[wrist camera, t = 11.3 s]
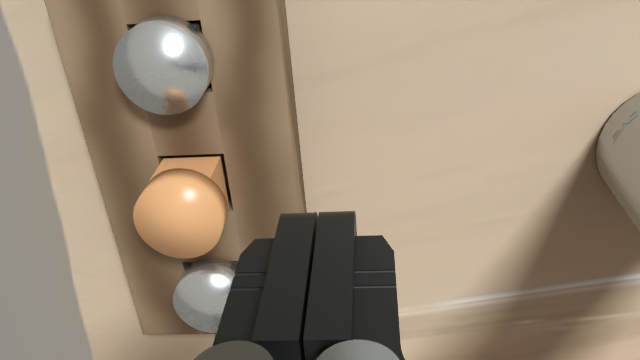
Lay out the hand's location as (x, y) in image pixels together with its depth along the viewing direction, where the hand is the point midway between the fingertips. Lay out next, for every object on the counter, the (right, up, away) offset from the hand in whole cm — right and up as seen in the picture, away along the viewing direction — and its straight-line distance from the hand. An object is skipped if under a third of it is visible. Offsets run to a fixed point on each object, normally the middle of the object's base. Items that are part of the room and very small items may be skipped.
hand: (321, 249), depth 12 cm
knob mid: (-9, +2, +30) cm, 31 cm away
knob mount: (-8, +3, +32) cm, 34 cm away
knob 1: (-9, +11, +28) cm, 31 cm away
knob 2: (-8, -5, +37) cm, 38 cm away
